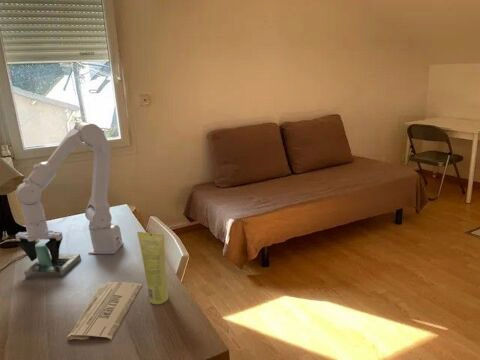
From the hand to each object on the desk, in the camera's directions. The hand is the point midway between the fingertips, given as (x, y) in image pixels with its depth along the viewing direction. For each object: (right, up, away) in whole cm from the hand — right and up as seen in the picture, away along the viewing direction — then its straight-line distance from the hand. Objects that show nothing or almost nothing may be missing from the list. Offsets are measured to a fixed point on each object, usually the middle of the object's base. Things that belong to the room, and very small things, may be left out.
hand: (45, 259), depth 115 cm
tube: (+41, -7, -19) cm, 46 cm away
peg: (0, -3, +1) cm, 3 cm away
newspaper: (+28, -9, -22) cm, 37 cm away
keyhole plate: (+3, -3, +1) cm, 4 cm away
